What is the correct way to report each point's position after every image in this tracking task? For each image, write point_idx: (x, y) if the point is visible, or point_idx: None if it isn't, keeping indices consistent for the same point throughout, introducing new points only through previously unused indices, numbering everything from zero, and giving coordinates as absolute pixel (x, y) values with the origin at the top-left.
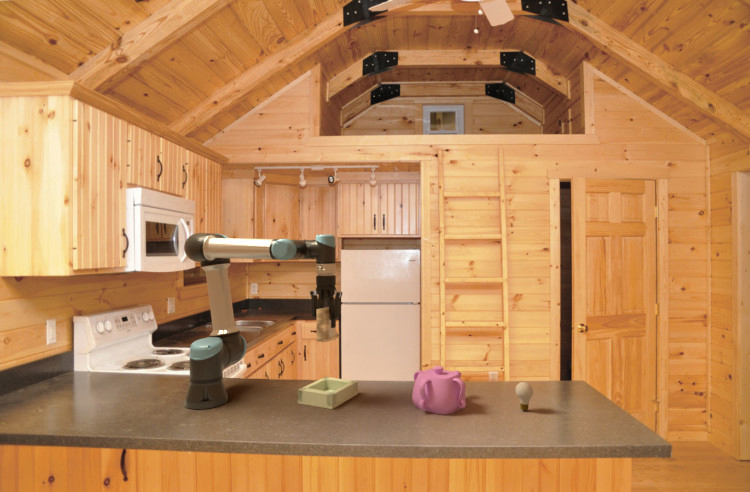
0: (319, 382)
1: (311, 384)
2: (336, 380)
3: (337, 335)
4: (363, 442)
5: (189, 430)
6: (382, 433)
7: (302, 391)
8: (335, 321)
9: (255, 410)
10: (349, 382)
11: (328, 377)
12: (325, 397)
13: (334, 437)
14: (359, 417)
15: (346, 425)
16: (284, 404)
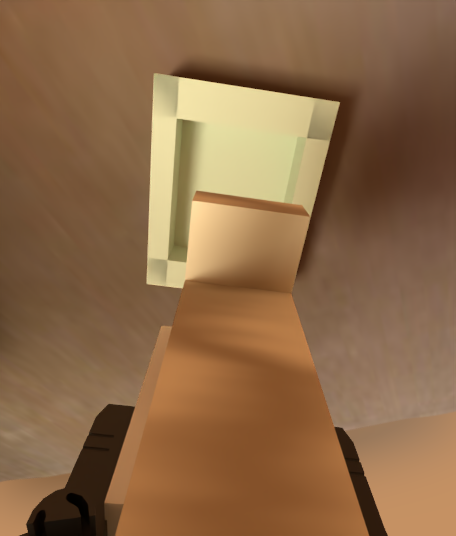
0: (173, 175)
1: (157, 213)
2: (234, 122)
3: (297, 252)
4: (409, 414)
5: (49, 450)
6: (448, 373)
7: (167, 284)
8: (374, 513)
9: (83, 341)
10: (305, 134)
11: (173, 82)
12: None
13: (345, 410)
14: (378, 309)
15: (355, 359)
16: (125, 283)
